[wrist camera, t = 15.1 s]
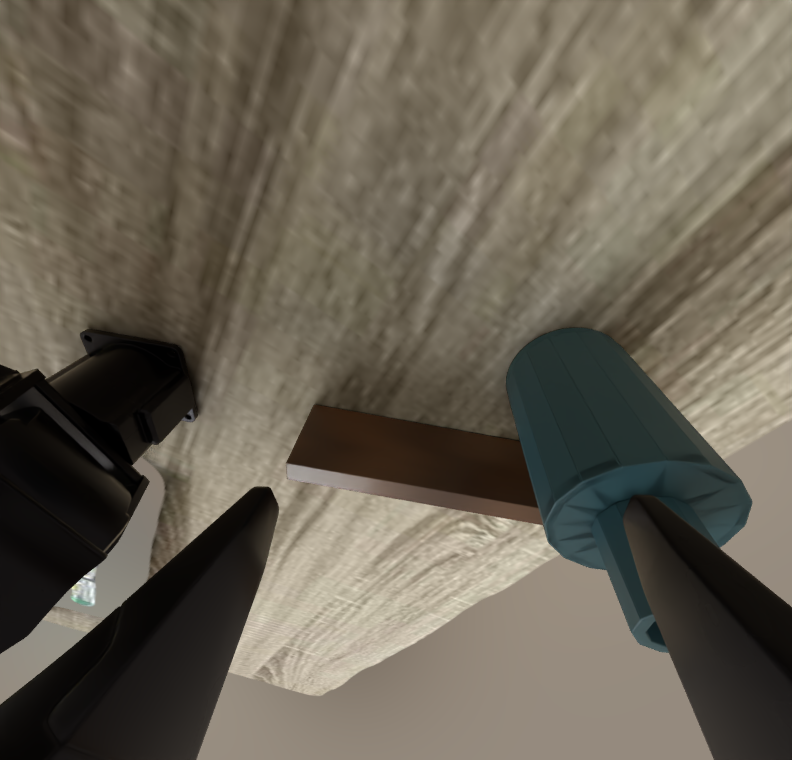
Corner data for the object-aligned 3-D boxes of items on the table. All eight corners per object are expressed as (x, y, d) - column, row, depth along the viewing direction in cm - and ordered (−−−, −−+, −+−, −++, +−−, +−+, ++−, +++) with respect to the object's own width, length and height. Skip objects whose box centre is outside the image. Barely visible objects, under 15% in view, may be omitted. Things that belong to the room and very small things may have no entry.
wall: (313, 419, 25) (286, 479, 21) (313, 403, 25) (285, 462, 20) (569, 465, 25) (597, 535, 21) (578, 451, 25) (609, 521, 20)
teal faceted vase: (484, 393, 23) (528, 635, 12) (556, 306, 19) (723, 539, 8) (568, 433, 24) (682, 688, 13) (652, 359, 20) (914, 627, 9)
